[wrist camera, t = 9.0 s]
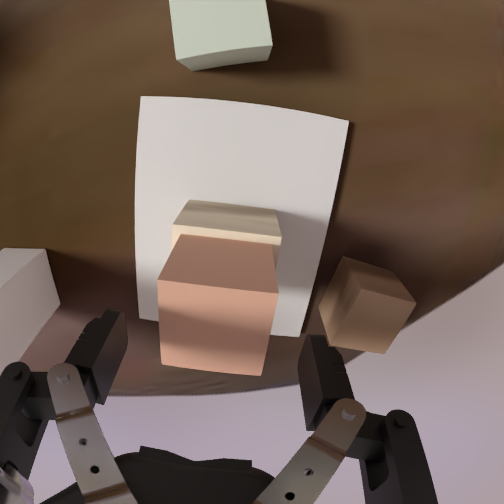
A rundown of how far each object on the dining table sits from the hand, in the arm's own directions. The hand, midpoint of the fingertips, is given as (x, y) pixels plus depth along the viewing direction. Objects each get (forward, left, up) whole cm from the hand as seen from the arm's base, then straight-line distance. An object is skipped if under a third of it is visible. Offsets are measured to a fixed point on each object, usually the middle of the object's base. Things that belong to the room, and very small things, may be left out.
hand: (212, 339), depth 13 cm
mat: (-1, 0, -11) cm, 11 cm away
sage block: (-15, -2, -11) cm, 19 cm away
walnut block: (+3, +11, -11) cm, 16 cm away
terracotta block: (0, 0, -6) cm, 6 cm away
